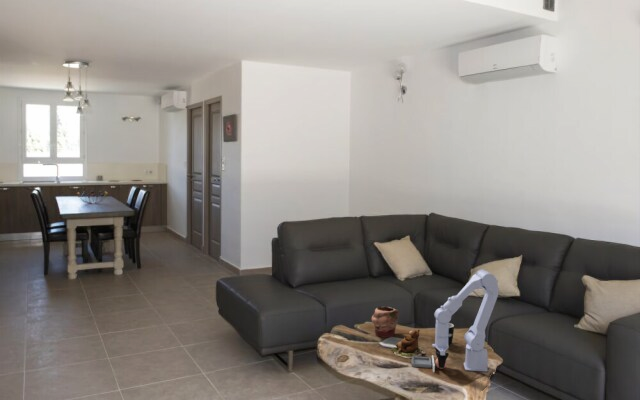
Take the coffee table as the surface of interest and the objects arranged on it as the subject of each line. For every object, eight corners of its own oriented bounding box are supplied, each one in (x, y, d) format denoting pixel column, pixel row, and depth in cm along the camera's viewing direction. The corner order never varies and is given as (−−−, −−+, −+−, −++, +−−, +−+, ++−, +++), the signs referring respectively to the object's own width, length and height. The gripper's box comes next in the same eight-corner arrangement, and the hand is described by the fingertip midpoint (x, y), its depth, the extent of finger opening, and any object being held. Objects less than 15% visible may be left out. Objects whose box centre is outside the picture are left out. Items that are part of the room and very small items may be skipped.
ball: (446, 366, 245) (446, 355, 244) (447, 370, 240) (447, 359, 239) (434, 365, 245) (435, 354, 245) (435, 370, 240) (435, 359, 240)
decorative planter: (387, 326, 299) (387, 302, 298) (406, 331, 291) (406, 306, 290) (365, 336, 284) (366, 310, 283) (384, 341, 276) (385, 314, 275)
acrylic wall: (433, 361, 250) (433, 355, 250) (434, 372, 238) (434, 365, 238) (431, 361, 250) (431, 355, 250) (433, 372, 238) (433, 365, 238)
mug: (448, 349, 266) (448, 329, 265) (431, 344, 272) (432, 325, 271) (459, 342, 275) (459, 323, 274) (442, 338, 281) (443, 319, 280)
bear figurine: (402, 345, 271) (403, 322, 270) (429, 353, 261) (429, 328, 260) (387, 353, 260) (387, 328, 259) (414, 361, 251) (414, 335, 250)
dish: (430, 360, 251) (430, 357, 251) (431, 367, 243) (431, 364, 243) (411, 359, 253) (411, 356, 252) (411, 366, 244) (412, 363, 244)
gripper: (431, 329, 249) (431, 358, 250) (433, 340, 235) (432, 371, 236) (447, 330, 248) (446, 359, 249) (450, 341, 234) (449, 372, 235)
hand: (441, 365), depth 242 cm, fingers closed on ball, 5 cm apart
